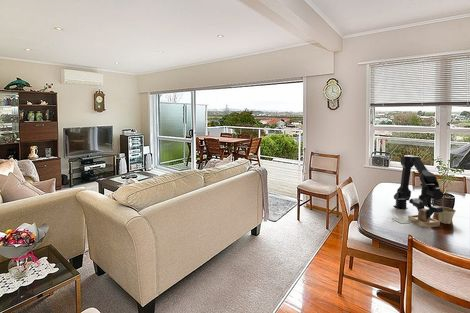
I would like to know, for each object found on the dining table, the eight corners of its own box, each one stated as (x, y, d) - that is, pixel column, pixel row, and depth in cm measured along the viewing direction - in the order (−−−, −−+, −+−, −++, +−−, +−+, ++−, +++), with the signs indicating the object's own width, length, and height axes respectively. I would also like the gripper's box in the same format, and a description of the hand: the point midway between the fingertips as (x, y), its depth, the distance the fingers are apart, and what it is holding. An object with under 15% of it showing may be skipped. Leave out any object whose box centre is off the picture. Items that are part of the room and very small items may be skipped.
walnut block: (417, 219, 169) (418, 208, 168) (423, 218, 170) (424, 208, 169) (423, 221, 165) (425, 211, 164) (429, 221, 166) (431, 210, 165)
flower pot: (435, 217, 176) (437, 205, 174) (454, 221, 170) (455, 208, 168) (435, 222, 168) (436, 209, 167) (454, 226, 163) (456, 213, 161)
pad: (392, 219, 175) (392, 218, 175) (402, 217, 176) (402, 217, 176) (402, 224, 167) (402, 223, 167) (412, 222, 169) (412, 222, 169)
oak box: (408, 220, 173) (408, 215, 172) (421, 218, 175) (422, 214, 174) (424, 228, 161) (425, 223, 161) (439, 226, 163) (439, 221, 163)
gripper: (403, 191, 172) (401, 213, 175) (429, 200, 154) (426, 225, 157) (417, 189, 174) (415, 212, 177) (445, 198, 156) (442, 223, 159)
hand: (423, 217), depth 167 cm, fingers closed on walnut block, 4 cm apart
